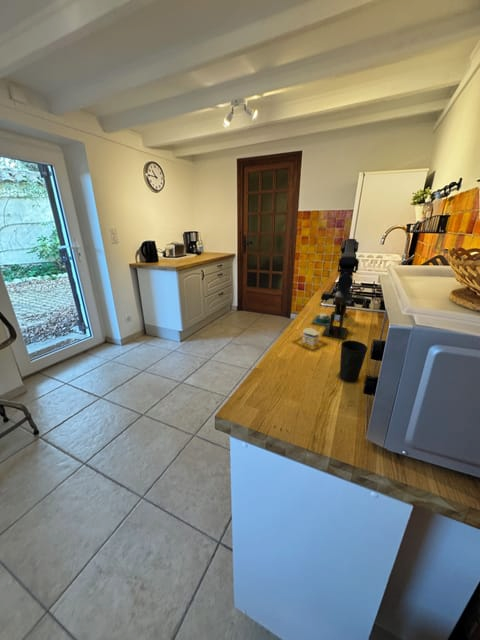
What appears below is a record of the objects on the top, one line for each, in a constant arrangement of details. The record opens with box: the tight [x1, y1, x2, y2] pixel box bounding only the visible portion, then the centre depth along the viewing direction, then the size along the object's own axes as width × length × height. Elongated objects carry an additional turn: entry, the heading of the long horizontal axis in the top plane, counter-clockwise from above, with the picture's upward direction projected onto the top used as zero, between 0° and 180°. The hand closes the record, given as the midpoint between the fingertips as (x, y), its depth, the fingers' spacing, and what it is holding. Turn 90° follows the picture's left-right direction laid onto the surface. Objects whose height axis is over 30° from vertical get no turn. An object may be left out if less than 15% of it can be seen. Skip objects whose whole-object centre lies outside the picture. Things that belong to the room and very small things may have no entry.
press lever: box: [334, 315, 341, 323], centre depth 119 cm, size 13×3×3 cm, turn 152°
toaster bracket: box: [322, 311, 349, 341], centre depth 115 cm, size 12×9×10 cm
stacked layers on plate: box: [301, 327, 320, 347], centre depth 108 cm, size 10×9×6 cm
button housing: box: [312, 314, 331, 327], centre depth 129 cm, size 10×8×3 cm
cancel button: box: [319, 313, 328, 319], centre depth 129 cm, size 4×4×2 cm
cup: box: [339, 340, 368, 383], centre depth 83 cm, size 8×8×12 cm
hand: (340, 315), depth 123 cm, fingers closed
